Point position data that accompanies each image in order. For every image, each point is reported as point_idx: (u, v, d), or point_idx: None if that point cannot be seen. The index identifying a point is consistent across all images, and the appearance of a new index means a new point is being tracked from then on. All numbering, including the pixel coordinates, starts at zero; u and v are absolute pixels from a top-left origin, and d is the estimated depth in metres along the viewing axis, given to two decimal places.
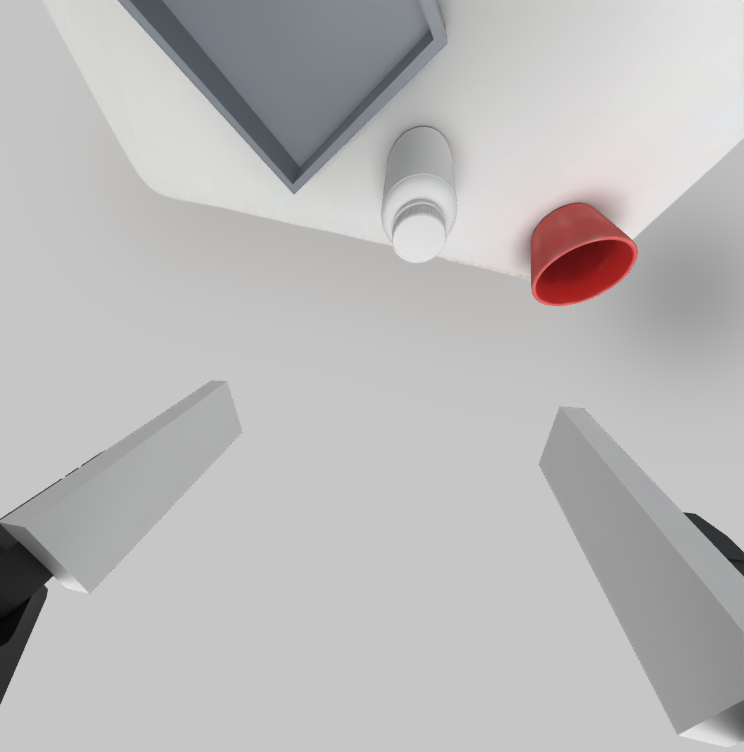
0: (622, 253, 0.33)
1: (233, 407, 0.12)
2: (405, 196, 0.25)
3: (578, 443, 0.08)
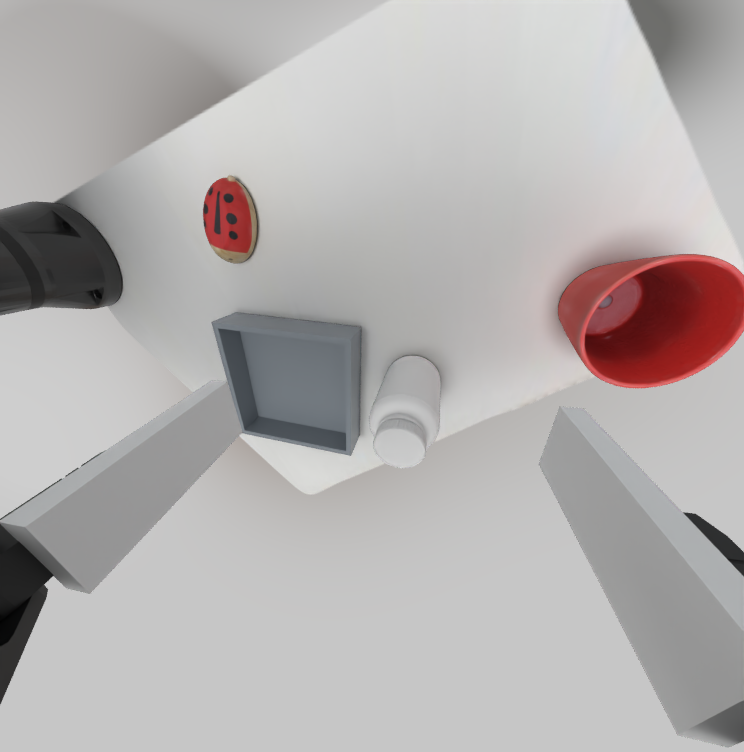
0: (687, 265, 0.20)
1: (234, 407, 0.12)
2: (374, 424, 0.29)
3: (578, 443, 0.08)
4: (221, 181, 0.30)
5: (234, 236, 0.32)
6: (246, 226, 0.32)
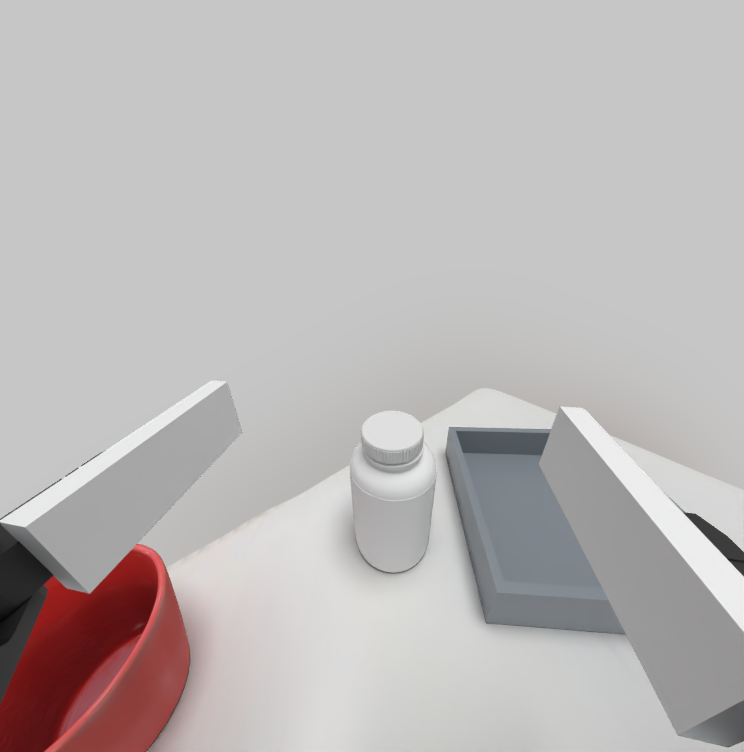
0: None
1: (234, 407, 0.12)
2: (427, 456, 0.23)
3: (578, 443, 0.08)
4: None
5: None
6: None
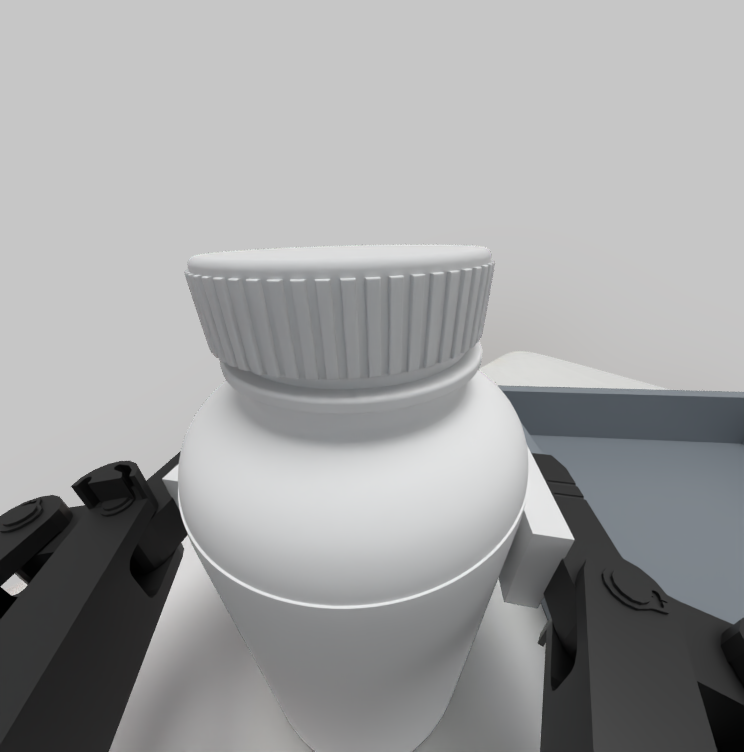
0: None
1: None
2: (489, 388, 0.06)
3: None
4: None
5: None
6: None
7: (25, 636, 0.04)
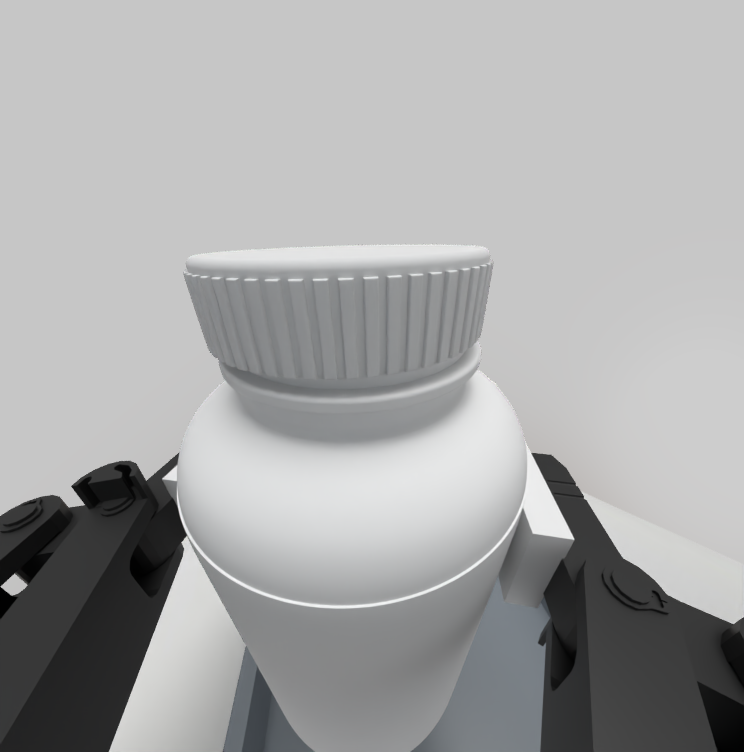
0: None
1: None
2: (488, 388, 0.06)
3: None
4: None
5: None
6: None
7: (25, 636, 0.04)
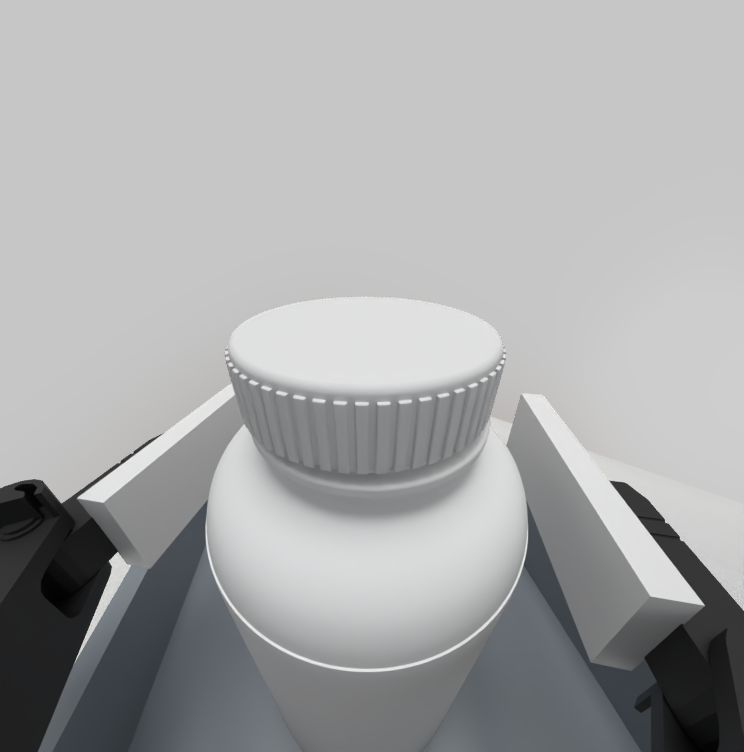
0: None
1: None
2: (493, 446, 0.06)
3: (532, 425, 0.09)
4: None
5: None
6: None
7: None
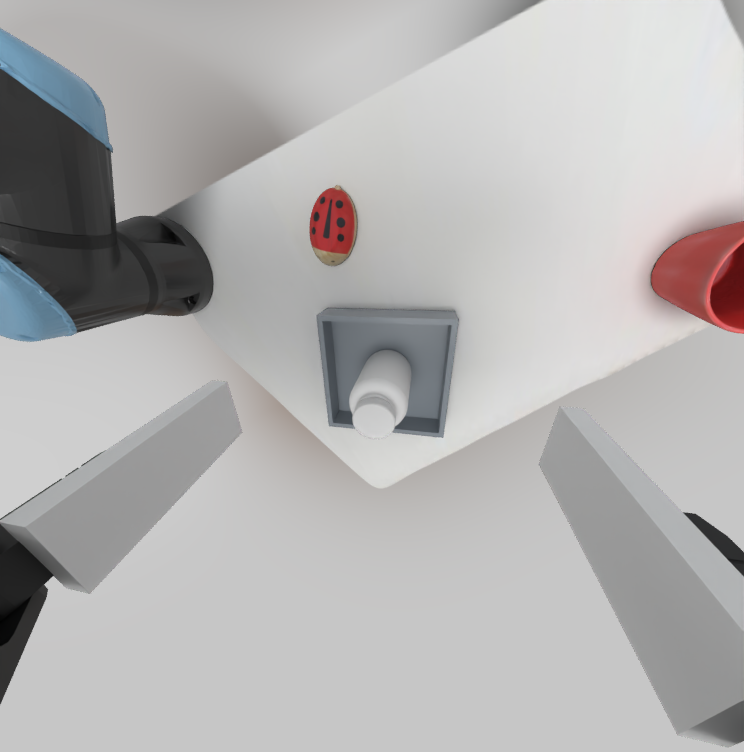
0: None
1: (233, 407, 0.12)
2: (354, 401, 0.34)
3: (578, 444, 0.08)
4: (331, 190, 0.34)
5: (341, 238, 0.35)
6: (351, 228, 0.35)
7: None
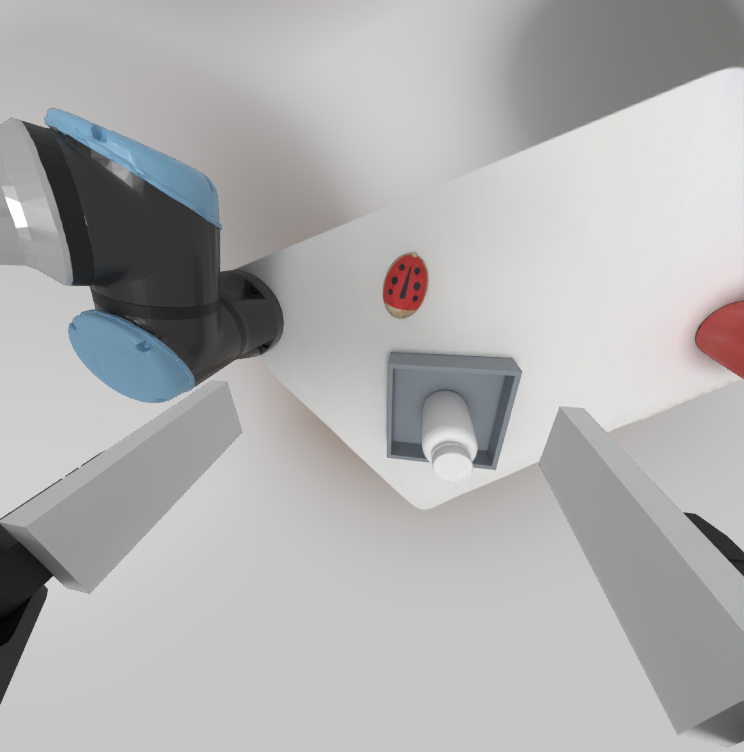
0: None
1: (233, 407, 0.12)
2: (430, 446, 0.38)
3: (578, 444, 0.08)
4: (409, 258, 0.38)
5: (415, 299, 0.39)
6: (424, 289, 0.39)
7: None
